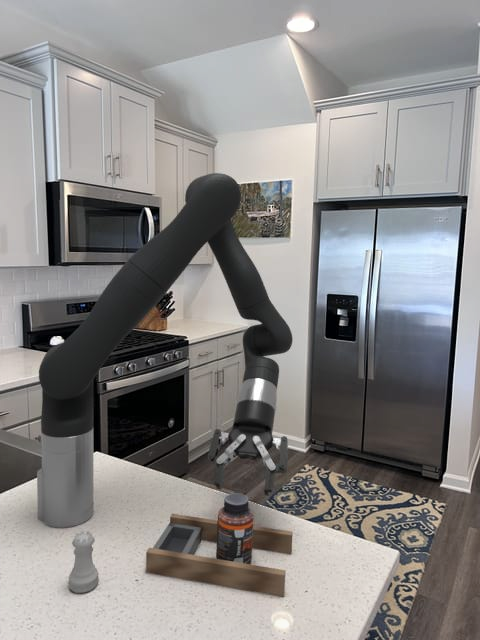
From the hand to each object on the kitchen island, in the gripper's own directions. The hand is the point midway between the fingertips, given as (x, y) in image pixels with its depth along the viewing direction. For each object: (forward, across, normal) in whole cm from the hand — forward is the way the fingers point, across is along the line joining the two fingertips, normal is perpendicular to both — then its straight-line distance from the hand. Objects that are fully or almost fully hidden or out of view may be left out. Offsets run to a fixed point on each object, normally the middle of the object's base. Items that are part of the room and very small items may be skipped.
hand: (242, 490), depth 83 cm
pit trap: (+11, -10, +4) cm, 15 cm away
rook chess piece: (+19, -21, -4) cm, 28 cm away
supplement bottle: (+11, 0, +4) cm, 12 cm away
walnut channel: (+11, -2, +4) cm, 11 cm away
